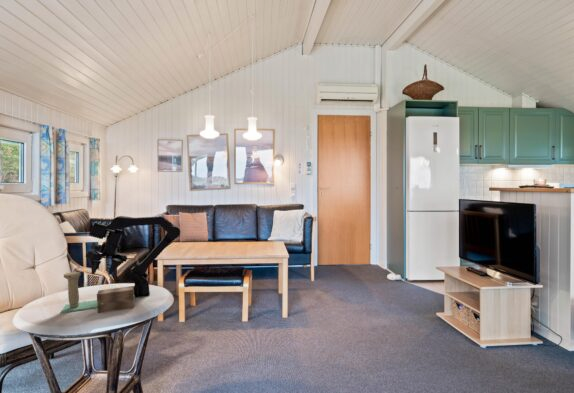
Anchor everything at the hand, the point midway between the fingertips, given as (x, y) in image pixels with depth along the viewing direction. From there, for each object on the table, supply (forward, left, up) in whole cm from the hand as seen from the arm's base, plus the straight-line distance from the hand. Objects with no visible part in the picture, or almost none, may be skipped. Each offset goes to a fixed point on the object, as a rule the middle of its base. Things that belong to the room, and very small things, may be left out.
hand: (101, 274), depth 164 cm
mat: (+8, +6, -12) cm, 16 cm away
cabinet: (-7, +15, -12) cm, 21 cm away
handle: (+10, +7, -12) cm, 17 cm away
